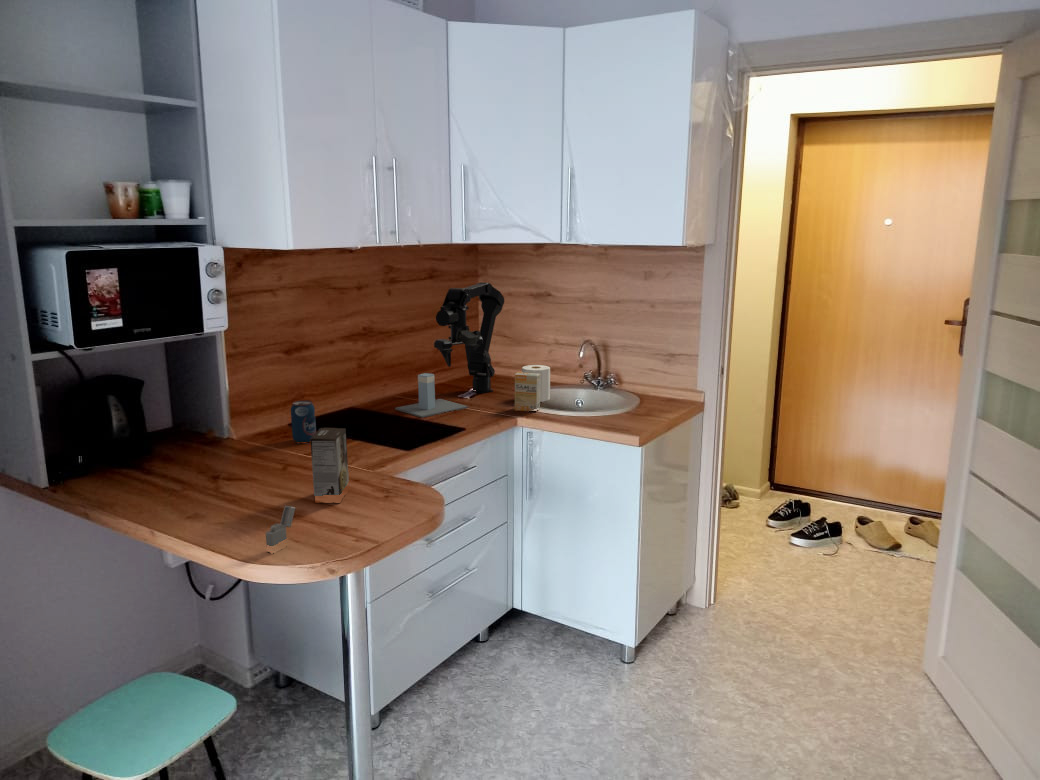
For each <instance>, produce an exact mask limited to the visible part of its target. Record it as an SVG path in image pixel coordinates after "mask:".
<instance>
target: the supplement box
mask: <svg viewBox="0 0 1040 780" xmlns="http://www.w3.org/2000/svg"><path fill="white" fill-rule="evenodd" d="M540 405H541V402H540V374H535V373H522V371H521V372H520V371H519V372H516V373H515V374H514V411H519V412H527V411H526V410H534V409H537V408H539V407H540V408H541V406H540Z"/></svg>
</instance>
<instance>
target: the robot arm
mask: <svg viewBox="0 0 1040 780" xmlns="http://www.w3.org/2000/svg"><path fill="white" fill-rule="evenodd" d="M477 297H478V300H479V302H480V303H481V310H482V312H483V315H482V320H481V324H480V327H479V328H480V329H479V330H473V331H470V326H469V325H467V310H470V307H469V306H468V305H467V304H468V303H470V302H471V299H473V298H477ZM504 305H505V297H504V296H503V294H502V293H501V291H499V290H498V289H497V288H496V287H494V286H493V284H492V283H490V282H478V283H476V284H472V285H470V286H469V285H468V286H466V287H463V288H461V287H450V288H449V289H448V290H447V292H446V294H445V298H444V301H443V302H442V305H441V306H440V307H439V308H440V310H439V311H437V312H436V315H435V321H436V322H437V324H438V325H439V326H441V327H446V326H448V327H447V328H448V329H450V336H448V339H445V338H440V339H435V340H434V343H433V347H434V349H435V348H436V349H437V350H438V351H439V352H440V353H441V355H442V357H443V359H444V361H445V363H446V365H447V367H449V368H451V366H452V352H453V349H454V348H452V347H453V346H456V345H464V348H465V349H464V350H465V356H466V362H467V365H466V366H467V369H468V375H469V376H470V377H471V376H472V379H473V380H472V389H473V390H476V391H477V392H478V393H479V394H484V393H491V392H494V389H492V388H491V387H492V386H491V385H492V384H491V378H493V377H494V376H495V371H496V370H495V368H494V367H493V366H492V363H491V362H492V358H491V355H490V353H489V351H490V345H491V341H492V337H493V332H494V328H495V323H496V320H497V319H496V318H497V316H498V315H499V314H500V313H501V312H502V310H503V307H504ZM477 392H476V393H477Z"/></svg>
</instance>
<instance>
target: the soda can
mask: <svg viewBox="0 0 1040 780" xmlns="http://www.w3.org/2000/svg"><path fill="white" fill-rule="evenodd" d="M315 409H316V408H315V405H314V404H313V401H312V400H307V399H306V400H305V399H304V400H302V399H301V400H296V401H293V402H292V405H291V406H290V420H291V435H292V437H291V438H292V439H293V441H294V442H295V441H296V442H310V441H311V440H310V438H311V437H312V436H313V435H314V434H315V433H316V432H317V424H316V422H317V421H316V412H315V411H316V410H315ZM296 442H295V443H296Z"/></svg>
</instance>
